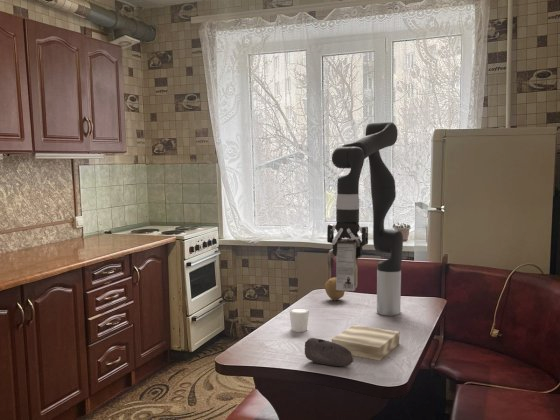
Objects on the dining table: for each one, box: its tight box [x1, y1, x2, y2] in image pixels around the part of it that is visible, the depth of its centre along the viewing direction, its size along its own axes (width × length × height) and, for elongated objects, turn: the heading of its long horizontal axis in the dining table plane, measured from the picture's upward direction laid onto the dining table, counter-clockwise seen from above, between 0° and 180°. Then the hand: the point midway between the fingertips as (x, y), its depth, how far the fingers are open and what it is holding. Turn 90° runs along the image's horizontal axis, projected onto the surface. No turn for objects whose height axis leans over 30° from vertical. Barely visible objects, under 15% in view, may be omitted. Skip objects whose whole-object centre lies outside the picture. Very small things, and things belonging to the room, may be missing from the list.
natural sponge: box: [324, 276, 346, 301], centre depth 240 cm, size 9×9×10 cm
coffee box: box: [335, 238, 359, 292], centre depth 185 cm, size 9×6×16 cm
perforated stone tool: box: [304, 337, 354, 367], centre depth 164 cm, size 15×5×7 cm, turn 59°
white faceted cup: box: [289, 307, 310, 333], centre depth 198 cm, size 7×7×7 cm
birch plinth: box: [331, 324, 400, 361], centre depth 179 cm, size 18×16×4 cm
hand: (347, 256), depth 184 cm, fingers closed on coffee box, 7 cm apart
